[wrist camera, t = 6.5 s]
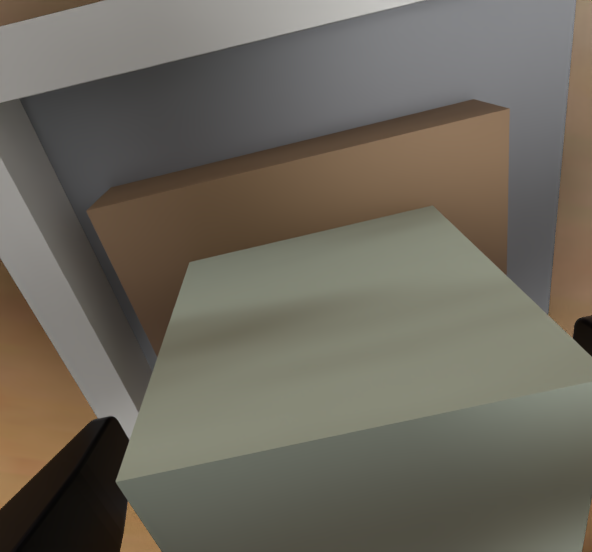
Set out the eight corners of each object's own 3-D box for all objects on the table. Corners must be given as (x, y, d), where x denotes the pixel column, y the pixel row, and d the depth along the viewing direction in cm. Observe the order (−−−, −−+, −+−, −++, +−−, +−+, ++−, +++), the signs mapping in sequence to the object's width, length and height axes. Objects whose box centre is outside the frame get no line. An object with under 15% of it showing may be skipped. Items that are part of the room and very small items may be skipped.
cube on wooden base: (479, 379, 13) (652, 647, 7) (220, 434, 13) (188, 732, 8) (473, 99, 9) (833, 193, 3) (110, 187, 9) (-124, 408, 4)
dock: (500, 383, 16) (565, 475, 13) (196, 445, 17) (178, 550, 13) (512, -72, 10) (654, -137, 6) (9, 52, 10) (-123, 57, 7)
